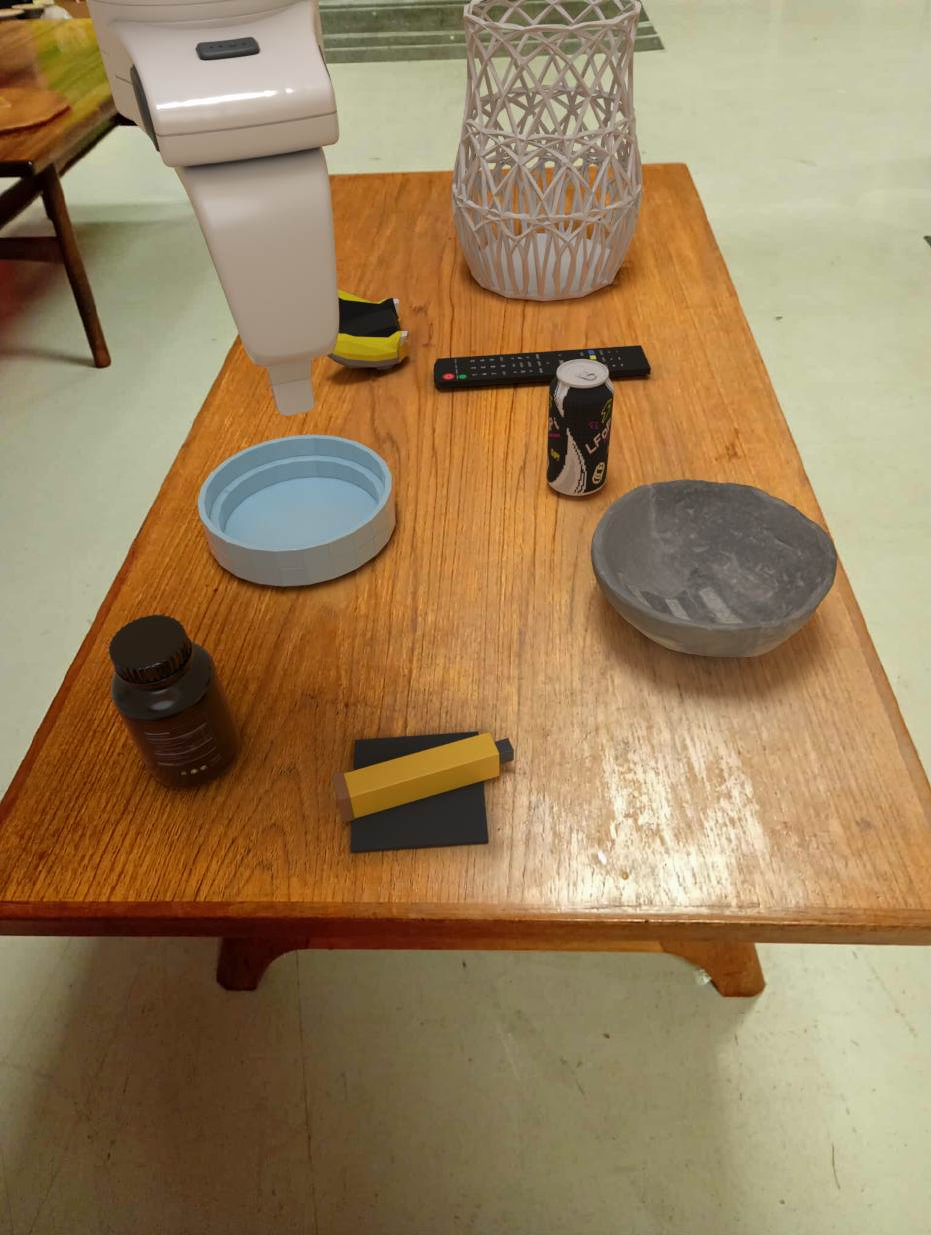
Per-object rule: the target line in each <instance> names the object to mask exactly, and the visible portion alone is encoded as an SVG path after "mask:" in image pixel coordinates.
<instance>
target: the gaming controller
mask: <svg viewBox="0 0 931 1235" xmlns="http://www.w3.org/2000/svg"><path fill="white" fill-rule="evenodd" d="M338 300H339V332H338V338H337V343H336V346H335V349H334V351H333V352H332V353H331V354H329V355H326V357H328V358H329V359H330V360H332V361H333V362H334V363H337V364H339V365H341V366H342V367H345V368H348V369H365V368H366V369H367V368H375V369H377V370H380V371H386V370H390V369H393V367H394V366H395V365H397V364H401V362H402V361H403V360H404V359H405V358H406V357H407V356H409V354H410V353H409V344H408V343H409V341H408V340H407V336H408V330H403V324H402V317H401V316H400V315H399V314H398V313H399V307H400V300H399V298H393V297H387V298H386V297H385V298H383V299H381V300H379V301H376V302H375V301H374V302H373V301H370V300H367V299H365V298H362V297H359V296H356V295H354V294H351V293H349V292H346V291H344V290H341V289H339V288H338Z"/></svg>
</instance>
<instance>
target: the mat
mask: <svg viewBox="0 0 931 1235" xmlns="http://www.w3.org/2000/svg"><path fill="white" fill-rule="evenodd" d="M477 735H480V732H479V731H477V730H476V731H464V732H463V731H462V732H449V733H435V734H433V733H432V734H421V735H420V734H419V735H406V736H404V735H403V736H393V737H392V736H391V737H380V738H379V737H377V738H364V739H354V744H353V747H354V748H353V768H352V769H353V770H352V771H354V770H358V769H361V768H365V767H368V766H372V765H375V764H379V763H382V762H386V761H389V760H393V759H396V758H400V757H403V756H407V755H411V754H414V753H418V752H421V751H425V750H428V749H432V748H435V747H439V746H442V745H446V744H449V743H453V742H456V741H460V740H463V739H467V738H470V737H474V736H477ZM485 798H486V797H485V788H484V780H483V781H480V782H477V783H473V784H470V785H467V786H463V787H460V788H456V789H453V790H450V791H446V792H443V793H439V794H436V795H433V796H429V797H426V798H423V799H419V800H416V801H412V802H409V803H406V804H402V805H399V806H395V807H392V808H389V809H385V810H382V811H379V812H375V813H372V814H368V815H365V816H362V817H358V818H355V820H351V821H350V822H351V826H350V854H357V853H358V854H359V853H371V852H383V851H384V852H385V851H399V850H412V849H427V848H441V847H454V846H466V845H467V846H468V845H481V844H482V845H483V844H489V834H488V822H487V810H486V809H487V808H486V799H485Z"/></svg>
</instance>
